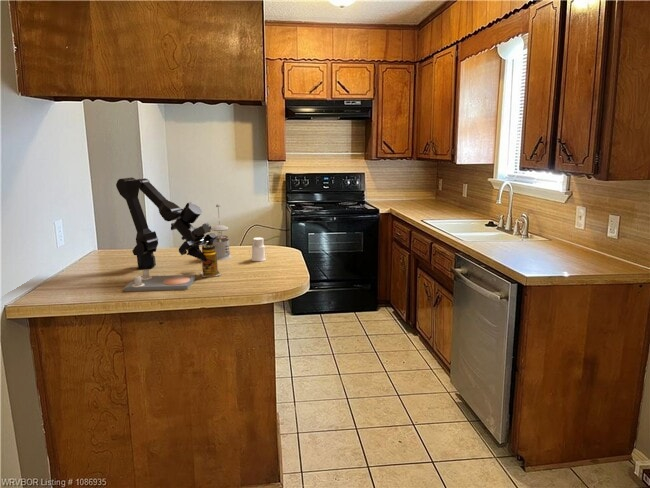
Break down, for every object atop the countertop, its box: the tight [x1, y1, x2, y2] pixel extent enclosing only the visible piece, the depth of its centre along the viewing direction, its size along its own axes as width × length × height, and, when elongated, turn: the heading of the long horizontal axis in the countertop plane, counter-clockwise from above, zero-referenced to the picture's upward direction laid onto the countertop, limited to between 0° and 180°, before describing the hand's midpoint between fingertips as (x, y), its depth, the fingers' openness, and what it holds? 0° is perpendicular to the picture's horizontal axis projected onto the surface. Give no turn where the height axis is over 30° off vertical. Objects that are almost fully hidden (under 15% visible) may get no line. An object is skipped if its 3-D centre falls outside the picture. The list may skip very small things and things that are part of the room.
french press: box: [211, 203, 233, 261], centre depth 221 cm, size 10×12×25 cm
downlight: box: [248, 237, 268, 262], centre depth 216 cm, size 8×7×10 cm
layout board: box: [124, 269, 197, 292], centre depth 182 cm, size 23×14×5 cm, turn 93°
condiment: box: [199, 245, 222, 278], centre depth 194 cm, size 7×8×12 cm
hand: (211, 259), depth 193 cm, fingers closed on condiment, 6 cm apart
